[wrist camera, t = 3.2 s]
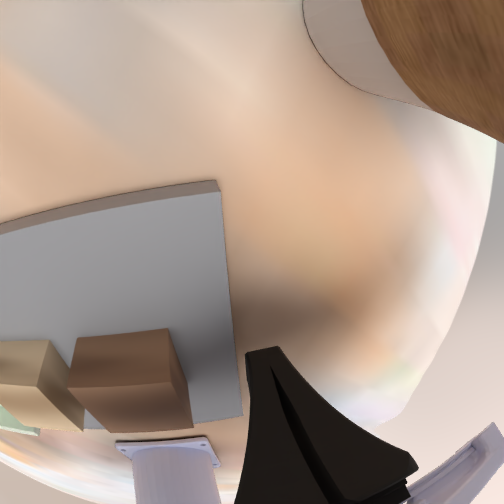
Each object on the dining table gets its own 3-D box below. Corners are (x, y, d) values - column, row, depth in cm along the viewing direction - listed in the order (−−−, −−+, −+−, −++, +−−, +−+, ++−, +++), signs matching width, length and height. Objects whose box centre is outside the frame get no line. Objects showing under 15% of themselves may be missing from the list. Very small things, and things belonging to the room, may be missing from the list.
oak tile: (87, 390, 11) (83, 431, 9) (31, 389, 10) (24, 425, 8) (49, 339, 9) (36, 386, 7) (-8, 341, 8) (-23, 380, 6)
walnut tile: (187, 382, 12) (193, 427, 10) (111, 389, 12) (110, 432, 9) (167, 327, 10) (170, 381, 8) (77, 337, 9) (66, 387, 7)
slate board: (239, 400, 16) (243, 415, 15) (42, 411, 14) (40, 425, 13) (215, 179, 9) (220, 191, 8) (-70, 249, 6) (-82, 262, 5)
